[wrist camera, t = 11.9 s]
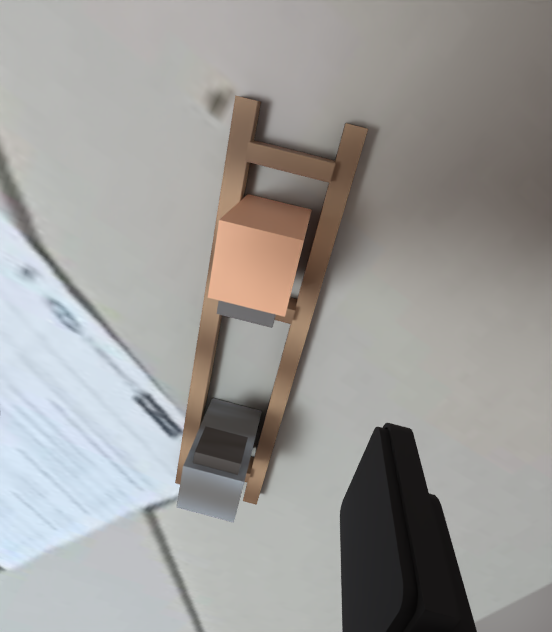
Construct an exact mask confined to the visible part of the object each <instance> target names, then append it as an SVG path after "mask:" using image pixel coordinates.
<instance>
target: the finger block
mask: <svg viewBox="0 0 552 632" xmlns="http://www.w3.org/2000/svg"><path fill="white" fill-rule="evenodd" d="M310 214H311V209H307V208H303V207H299V206H295V205H291V204H287V203H283V202H278V201H274V200H270V199H266V198H262V197H258V196H254V195H250V194H247V195H246V196H245V197H244V198H243V199H242V200H241V201H240V202H239V203H237V204H236V205H235V206H234V207H233V208H232V209H231V210H230V211H228V212H227V213H226V214H225V215H224V216H223V217H222V218H221V219H220V220H219V224H218V231H217V237H216V244H215V251H214V258H213V264H212V271H211V278H210V285H209V291H208V298H212V299H216V300H219V301H218V307H217V314H219V315H223V316H227V317H231V318H235V319H239V320H243V321H247V322H251V323H255V324H259V325H263V326H267V327H271V328H272V327H273V324H274V320H275V317H276V315H280V316H284V317H285V315H286V311H287V307H288V303H289V299H290V295H291V291H292V287H293V283H294V279H295V275H296V271H297V267H298V263H299V259H300V255H301V251H302V247H303V243H304V239H305V235H306V231H307V227H308V223H309V218H310Z"/></svg>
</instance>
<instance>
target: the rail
mask: <svg viewBox="0 0 552 632" xmlns="http://www.w3.org/2000/svg"><path fill="white" fill-rule="evenodd" d="M260 106H261V102H260V101H256V100H252V99H248V98H244V97H240V96H235V103H234V109H233V115H232V122H231V128H230V135H229V141H228V148H227V154H226V160H225V167H224V173H223V180H222V186H221V192H220V199H219V205H218V212H217V218H216V225H215V231H214V237H213V244H212V250H211V257H210V263H209V270H208V276H207V282H206V289H205V295H204V302H203V308H202V315H201V321H200V327H199V334H198V340H197V347H196V353H195V360H194V366H193V372H192V379H191V385H190V392H189V398H188V405H187V411H186V417H185V424H184V430H183V437H182V443H181V450H180V456H179V462H178V469H177V475H176V482H175V483H177V484H180V489H179V495H178V501H177V508H181V509H185V510H189V511H192V512H196V513H200V514H204V515H207V516H211V517H215V518H219V519H223V520H226V521H230V522H234V519H235V515H236V512H237V508H238V504H239V500H240V497H241V493H242V489H243V485H244V482H247V486H246V490H245V494H244V498H243V501H245V502H249V503H252V504H257V501H258V498H259V494H260V491H261V488H262V484H263V481H264V478H265V474H266V471H267V467H268V464H269V461H270V457H271V454H272V451H273V447H274V444H275V441H276V437H277V434H278V430H279V427H280V424H281V420H282V417H283V414H284V410H285V407H286V404H287V400H288V397H289V393H290V390H291V387H292V383H293V380H294V377H295V373H296V370H297V367H298V363H299V360H300V357H301V353H302V350H303V346H304V343H305V340H306V336H307V333H308V330H309V326H310V323H311V320H312V316H313V313H314V309H315V306H316V303H317V299H318V296H319V293H320V289H321V286H322V283H323V279H324V276H325V272H326V269H327V266H328V262H329V259H330V256H331V252H332V249H333V246H334V242H335V239H336V235H337V232H338V229H339V225H340V222H341V219H342V215H343V212H344V209H345V205H346V202H347V198H348V195H349V192H350V188H351V185H352V182H353V178H354V175H355V172H356V168H357V165H358V161H359V158H360V155H361V151H362V148H363V145H364V141H365V138H366V135H367V131H368V129H367V128H363V127H359V126H355V125H351V124H347V123H345V126H344V130H343V134H342V137H341V141H340V145H339V148H338V152H337V156H336V159H335V160H331V159H327V158H323V157H319V156H315V155H311V154H307V153H303V152H299V151H295V150H291V149H287V148H283V147H279V146H275V145H271V144H267V143H263V142H259V141H255V140H254V138H255V133H256V127H257V122H258V117H259V111H260ZM250 163H254V164H258V165H262V166H266V167H270V168H274V169H277V170H281V171H285V172H289V173H293V174H297V175H301V176H305V177H309V178H313V179H317V180H321V181H325V182H329V185H328V189H327V192H326V196H325V200H324V203H323V207H322V211H321V214H320V218H319V222H318V225H317V229H316V233H315V236H314V240H313V244H312V248H311V251H310V255H309V259H308V262H307V266H306V270H305V273H304V277H303V281H302V284H301V288H300V292H299V295H298V299H294V298H290V299H289V303H288V307H287V311H286V315H285V317H284V316H280V315H276V317H275V320H277V321H281V322H285V323H289V324H291V325H290V328H289V332H288V336H287V339H286V343H285V347H284V350H283V354H282V358H281V361H280V365H279V369H278V372H277V376H276V380H275V383H274V387H273V391H272V394H271V398H270V402H269V405H268V409H267V413H266V416H265V420H264V424H263V427H262V431H261V435H260V438H259V442H258V446H257V449H256V453H255V457H251V453H252V449H253V445H254V441H255V436H256V432H257V428H258V424H259V420H260V416H261V412H262V411H260V410H256V409H253V408H249V407H245V406H241V405H237V404H234V403H230V402H226V401H222V400H218V399H214V398H212V400H211V402H210V405H209V407H208V409H207V412H206V414H205V416H204V413H205V407H206V402H207V396H208V391H209V385H210V380H211V374H212V369H213V363H214V358H215V353H216V347H217V342H218V336H219V331H220V325H221V320H222V315H219V314H217V307H218V301H219V300H216V299H212V298H208V291H209V285H210V278H211V271H212V264H213V258H214V251H215V244H216V237H217V231H218V224H219V220H220V219H221V218H222V217H223V216H224V215H225V214H226V213H227V212H228V211H230V210H231V209H232V208H233V207H234V206H235V205H236V204H237V203H239V202H240V201H241V200H242V199H243V198H244V193H245V188H246V182H247V177H248V171H249V166H250ZM203 418H204V419H203Z"/></svg>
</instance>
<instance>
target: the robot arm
mask: <svg viewBox="0 0 552 632" xmlns="http://www.w3.org/2000/svg"><path fill="white" fill-rule="evenodd" d="M340 542H341V585H342V627H343V632H477V631H476V627H475V623H474V620H473V616H472V613H471V609H470V606H469V602H468V599H467V595H466V591H465V588H464V584H463V581H462V577H461V574H460V570H459V567H458V563H457V560H456V556H455V552H454V549H453V545H452V542H451V538H450V535H449V531H448V528H447V524H446V521H445V517H444V513H443V510H442V506H441V504H440V501H439V499H438V498H437V497H436V496H435V495H432V494H429V493H428V489H427V485H426V481H425V477H424V473H423V469H422V465H421V462H420V458H419V454H418V450H417V446H416V442H415V438H414V434H413V432H412V430H411V429H410V428H406V427H402V426H398V425H394V424H391V423H386V424H385V425H384V426H383V428H381V427H376V428H375V429H374V431H373V434H372V436H371V438H370V440H369V443H368V445H367V447H366V449H365V452H364V454H363V456H362V458H361V461H360V463H359V465H358V468H357V470H356V472H355V474H354V477H353V479H352V481H351V483H350V486H349V488H348V490H347V492H346V495H345V497H344V499H343V502H342V505H341V510H340Z"/></svg>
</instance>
